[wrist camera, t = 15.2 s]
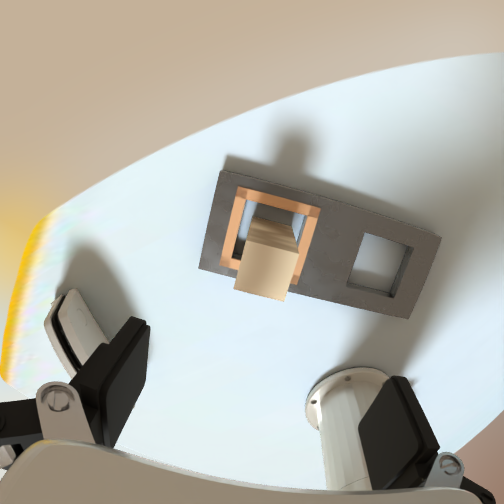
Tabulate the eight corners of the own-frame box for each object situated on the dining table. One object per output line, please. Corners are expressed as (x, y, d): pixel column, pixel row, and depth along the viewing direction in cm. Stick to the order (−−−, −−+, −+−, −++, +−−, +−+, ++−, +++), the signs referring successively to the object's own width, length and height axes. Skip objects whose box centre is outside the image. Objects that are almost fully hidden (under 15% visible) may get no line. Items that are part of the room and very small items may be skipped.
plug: (291, 226, 32) (299, 254, 23) (280, 262, 33) (283, 301, 24) (252, 216, 32) (246, 240, 23) (243, 252, 33) (233, 288, 24)
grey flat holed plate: (435, 233, 31) (442, 238, 29) (403, 313, 34) (408, 320, 32) (222, 170, 30) (219, 171, 29) (201, 263, 33) (197, 269, 32)
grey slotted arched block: (53, 297, 36) (25, 324, 27) (79, 283, 37) (56, 307, 28) (115, 393, 41) (108, 435, 31) (141, 382, 41) (138, 424, 32)
